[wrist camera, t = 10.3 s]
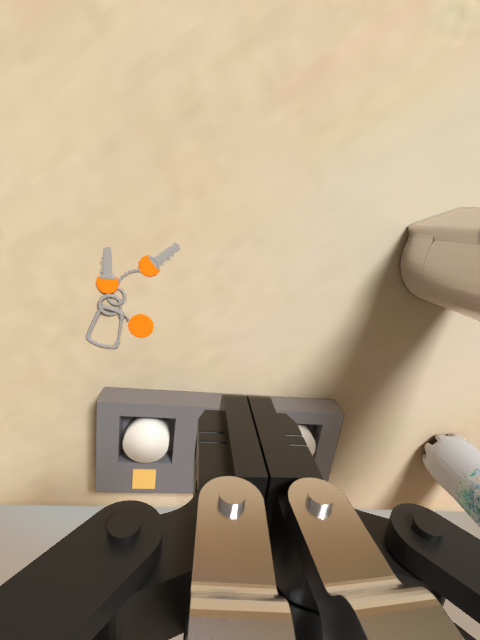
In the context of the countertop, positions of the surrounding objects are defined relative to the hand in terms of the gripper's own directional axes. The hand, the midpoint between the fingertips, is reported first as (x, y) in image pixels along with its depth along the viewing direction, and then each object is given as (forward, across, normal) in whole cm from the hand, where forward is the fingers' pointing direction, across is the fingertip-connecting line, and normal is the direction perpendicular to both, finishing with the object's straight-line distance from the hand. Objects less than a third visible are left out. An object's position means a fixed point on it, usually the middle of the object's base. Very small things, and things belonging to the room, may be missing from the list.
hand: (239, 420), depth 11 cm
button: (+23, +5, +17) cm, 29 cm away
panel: (+25, -3, +18) cm, 31 cm away
